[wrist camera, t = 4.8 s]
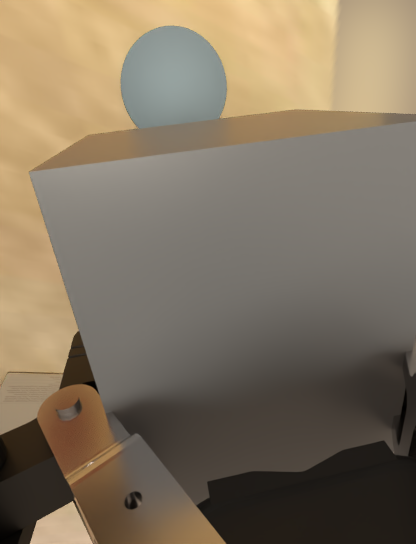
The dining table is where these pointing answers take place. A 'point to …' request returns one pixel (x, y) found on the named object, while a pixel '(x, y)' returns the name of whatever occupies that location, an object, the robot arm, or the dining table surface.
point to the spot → (172, 79)
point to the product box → (24, 397)
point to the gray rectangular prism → (242, 283)
